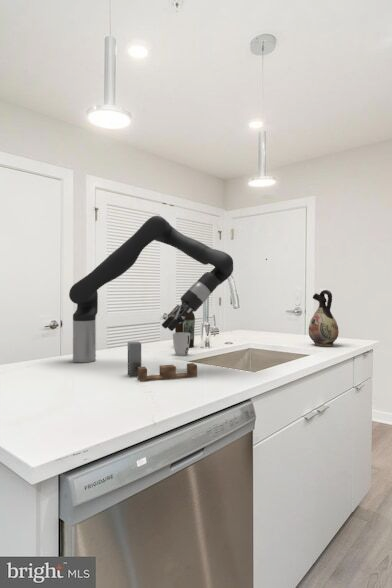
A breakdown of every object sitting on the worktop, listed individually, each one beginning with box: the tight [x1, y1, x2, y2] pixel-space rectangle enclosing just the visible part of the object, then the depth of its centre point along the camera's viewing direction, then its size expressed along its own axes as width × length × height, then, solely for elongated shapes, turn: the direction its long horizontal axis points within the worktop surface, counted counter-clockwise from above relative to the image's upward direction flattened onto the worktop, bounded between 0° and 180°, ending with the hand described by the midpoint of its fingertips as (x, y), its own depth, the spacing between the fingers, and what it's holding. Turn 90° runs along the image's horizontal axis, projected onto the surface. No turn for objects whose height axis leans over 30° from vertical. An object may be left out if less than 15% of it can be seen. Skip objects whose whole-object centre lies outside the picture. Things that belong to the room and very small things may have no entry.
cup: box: [172, 332, 190, 357], centre depth 177 cm, size 8×8×10 cm
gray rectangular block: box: [127, 341, 142, 378], centre depth 135 cm, size 4×4×12 cm
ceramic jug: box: [308, 289, 339, 347], centre depth 205 cm, size 17×15×30 cm
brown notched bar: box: [137, 362, 198, 382], centre depth 131 cm, size 20×4×4 cm, turn 110°
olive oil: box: [174, 302, 196, 349], centre depth 200 cm, size 11×11×25 cm
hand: (166, 328), depth 139 cm, fingers open, 8 cm apart
